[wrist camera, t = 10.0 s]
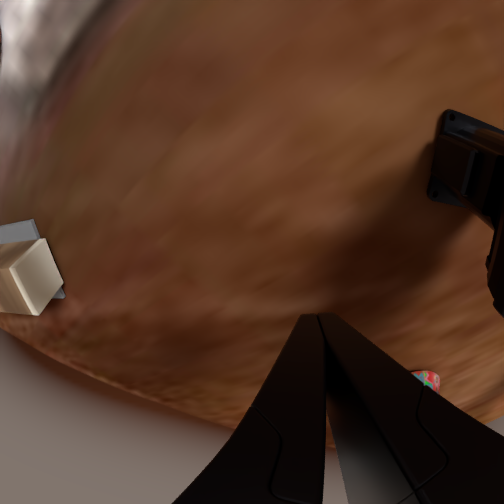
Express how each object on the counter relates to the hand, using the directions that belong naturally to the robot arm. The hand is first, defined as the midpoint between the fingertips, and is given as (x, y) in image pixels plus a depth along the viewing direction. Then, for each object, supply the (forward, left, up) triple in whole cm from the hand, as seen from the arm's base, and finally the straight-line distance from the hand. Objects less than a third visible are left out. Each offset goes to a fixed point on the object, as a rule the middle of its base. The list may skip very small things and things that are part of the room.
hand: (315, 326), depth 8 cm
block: (+18, +8, -10) cm, 23 cm away
